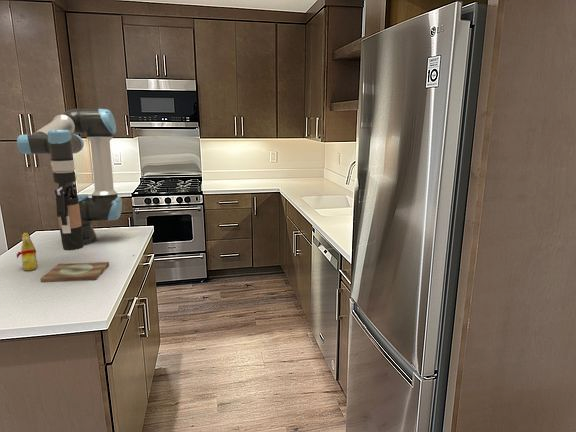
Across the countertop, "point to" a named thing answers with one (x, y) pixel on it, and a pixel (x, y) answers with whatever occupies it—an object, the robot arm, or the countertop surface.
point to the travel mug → (72, 226)
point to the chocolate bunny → (28, 253)
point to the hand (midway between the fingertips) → (71, 230)
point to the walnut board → (75, 272)
